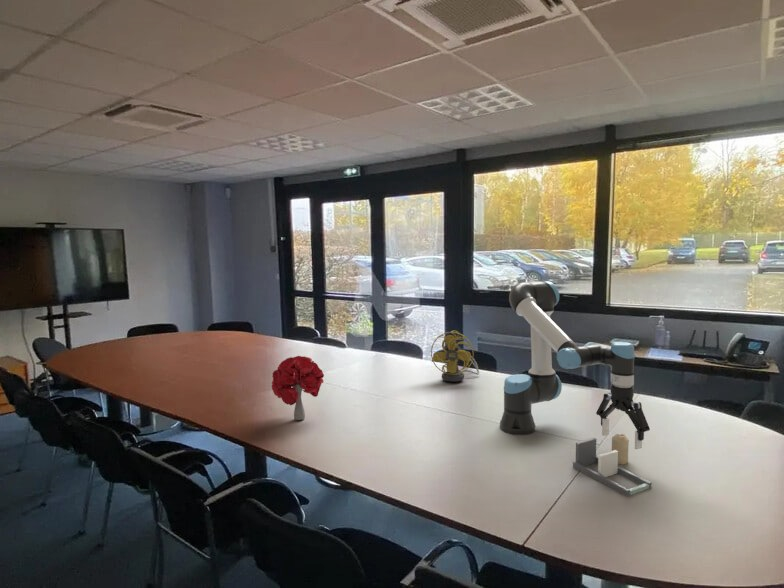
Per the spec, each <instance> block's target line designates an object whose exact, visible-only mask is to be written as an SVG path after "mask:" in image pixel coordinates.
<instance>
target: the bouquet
mask: <svg viewBox="0 0 784 588" xmlns="http://www.w3.org/2000/svg"><path fill="white" fill-rule="evenodd" d="M324 377H325V374H324V372H323V369H321V368H320V367H319V366H318V363H316V362H315V361H314V360H313V359H312V358H311V357H307V356H301V355H297V356H290V357H287V358H285V359H284V360H283V361H281V363H279V364H278V366H277V369H275V370H273V372H272V381H271V389H272V392H273V394H274V395H275V396H276V397H277V398H278V399H281V401H282V402H283V403H284V404H285V405H289V406H294V410H293V419H294V420H296V421H300V420H304V419H305V418H306V412H305V408H304V405H303V401H302V392H303V393H306V394H309V395H311V396H313V397H315V398H317V397H318V396H319V392H320V389H321V387H322V384H323V383H324V379H323V378H324Z"/></svg>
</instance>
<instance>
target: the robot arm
mask: <svg viewBox="0 0 784 588" xmlns="http://www.w3.org/2000/svg"><path fill="white" fill-rule="evenodd" d="M508 296H509V297H508V301H509V304H510V307H511V308H512V310H513V311H514V312H515V313H516V314H517V316H519V317H523V318H524V320H526V321H527V323H528V324H529V325H530V349H531V350H530V351H531V367H530V369H529V370H528V374H525V373H520V374H518V373H517V374H512V375H509V376H507V377H506V378H505V380H504V383H503V392H504V393H503V412H502V416H501V419H500V422H499V429H500V430H501V431H502V432H504V433H507V434H510V435H515V436H526V435H531V434H533V433H535V432H536V423H535V420H534V417H533V414H532V405H533V404H539V403H543V402H544V403H545V402H550V401H552V400H555V399H557V398H558V397H559V396H560V394H561V393H562V389H563V387H562V381H561V380H560V377H559V376H558V375H557V374H556V371H555V369H554V368H553V366H552V365H553V364H552V363H553V362H552V361H553V360H552V359H553V358H552V349H553V351H554V352H556V361H557V362H558V365H559V366H560V367H561V368H562V369H566V370H567V369H568V370H569V369H570V370H571V369H577V368H583V367H589V366H595V365H604V366H606V367H607V366H608V367H610V392H607V393H604V394H603V397H602V400H601V402H600V404H599V406H598V408H597V411H596V412H595V413H596V415H597V416H599V417H600V425H601V435H602V436H603V437H606V436H608V435H609V434H610V417H609V415H611V413H612V412H614V411H615V410H617V411H621V412H624V414H626V415H627V416H628V417H629V419H630V421H631V423H632V424H633V426H634V427H635V431H634V449H635V450H640V449H642V446H643V441H644V439H645V432H649V431H650V430H651V429H650V426H649V423H648V421H647V419H646V416H645V413H644V411H643V407H642V402H640V401H639V402H635V401H634V400H633V398H634V395H635V394H634V388H635V387H634V385H635V374H634V373H635V372H634V371H635V366H634V365H635V357H636V355H635V346H634V345H633V343H630V342H627V341H613V342H612V343H611V345H609V344H604V343H599V342H592V341H590V342H587V343H585V344H584V345H580V346H579V345H578V344H576V342H574V340H572V339H571V338H570V336H568V334H567V333H566V332H565V331H564V330H562V329H561V327H559V325H558V324H557V323H555V321H553V320H552V318H551V315H552V314H553V313H554V311H555V308H554V307H555V306H557V304H558V302H559V301H560V291H559V289H558V287H557V286H556V284H554V283H553V282H551V281H548V280H536V281H522V282H519V283H517V284H515V285H514V286H513V287H512V288H511V289H510V292H509V295H508ZM610 401H611V403H610ZM609 404H610V405H609ZM607 406H608V407H607Z"/></svg>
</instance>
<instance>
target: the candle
mask: <svg viewBox="0 0 784 588" xmlns="http://www.w3.org/2000/svg"><path fill="white" fill-rule="evenodd" d="M629 441H630V440H629V438H628V437H627V436H626V434H622V433H621V434H616V433H615V434H614V435H612V437H611V451H613V450H616V451H618V464H619V465H626V464H628V462H629V445H630V444H629Z"/></svg>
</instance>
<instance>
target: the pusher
mask: <svg viewBox="0 0 784 588" xmlns="http://www.w3.org/2000/svg"><path fill="white" fill-rule="evenodd" d="M597 456H598V463H597V473H599V474H601V475H603V476H605V477H607V478H608V477H611V476H613V475H617V474H618V473H617V470H618V466H619V465H618V451H616V450H613V451H612V450H611V451H607V452H604V453H600V454H598V455H597Z"/></svg>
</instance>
